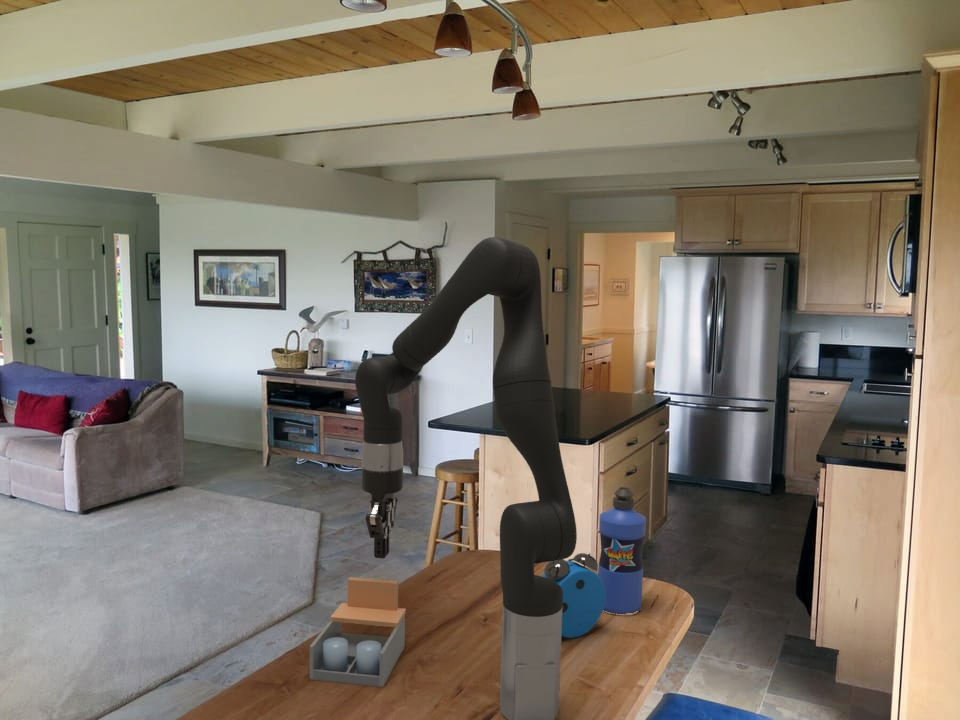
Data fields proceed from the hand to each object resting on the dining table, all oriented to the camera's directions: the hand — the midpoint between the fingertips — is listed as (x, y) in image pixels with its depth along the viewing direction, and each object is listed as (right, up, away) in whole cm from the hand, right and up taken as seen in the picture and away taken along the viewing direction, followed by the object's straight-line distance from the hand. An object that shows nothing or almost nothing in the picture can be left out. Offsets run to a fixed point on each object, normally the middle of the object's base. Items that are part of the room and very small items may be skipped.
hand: (381, 555), depth 147 cm
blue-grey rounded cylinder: (0, -16, -16) cm, 22 cm away
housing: (-2, -16, -12) cm, 20 cm away
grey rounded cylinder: (-6, -16, -15) cm, 22 cm away
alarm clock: (+35, -16, +4) cm, 39 cm away
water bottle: (+47, -15, +16) cm, 52 cm away
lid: (-1, -9, -7) cm, 12 cm away
